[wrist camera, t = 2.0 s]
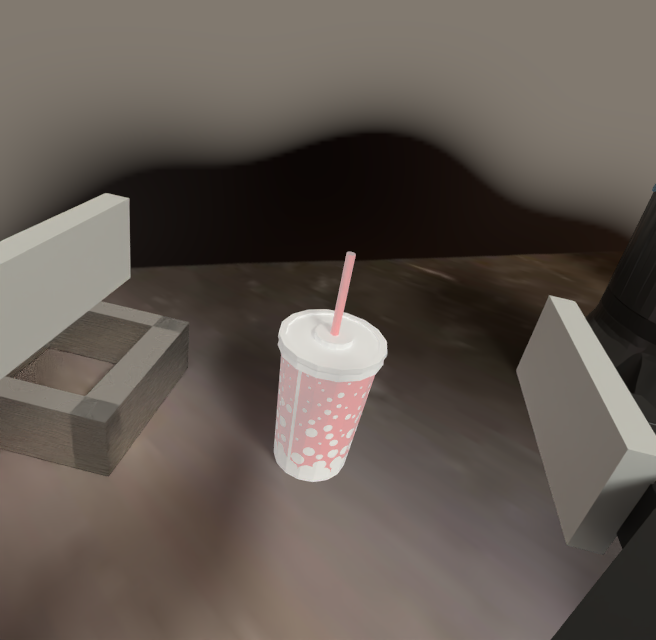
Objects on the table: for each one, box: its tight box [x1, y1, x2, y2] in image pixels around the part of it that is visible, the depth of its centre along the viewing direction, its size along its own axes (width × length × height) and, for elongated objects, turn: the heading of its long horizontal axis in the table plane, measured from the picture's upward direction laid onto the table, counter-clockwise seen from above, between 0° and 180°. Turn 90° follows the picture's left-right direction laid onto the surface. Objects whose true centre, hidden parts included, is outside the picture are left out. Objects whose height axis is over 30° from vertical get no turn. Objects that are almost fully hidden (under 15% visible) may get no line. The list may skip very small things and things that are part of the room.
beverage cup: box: [274, 252, 387, 482], centre depth 29 cm, size 6×6×14 cm
